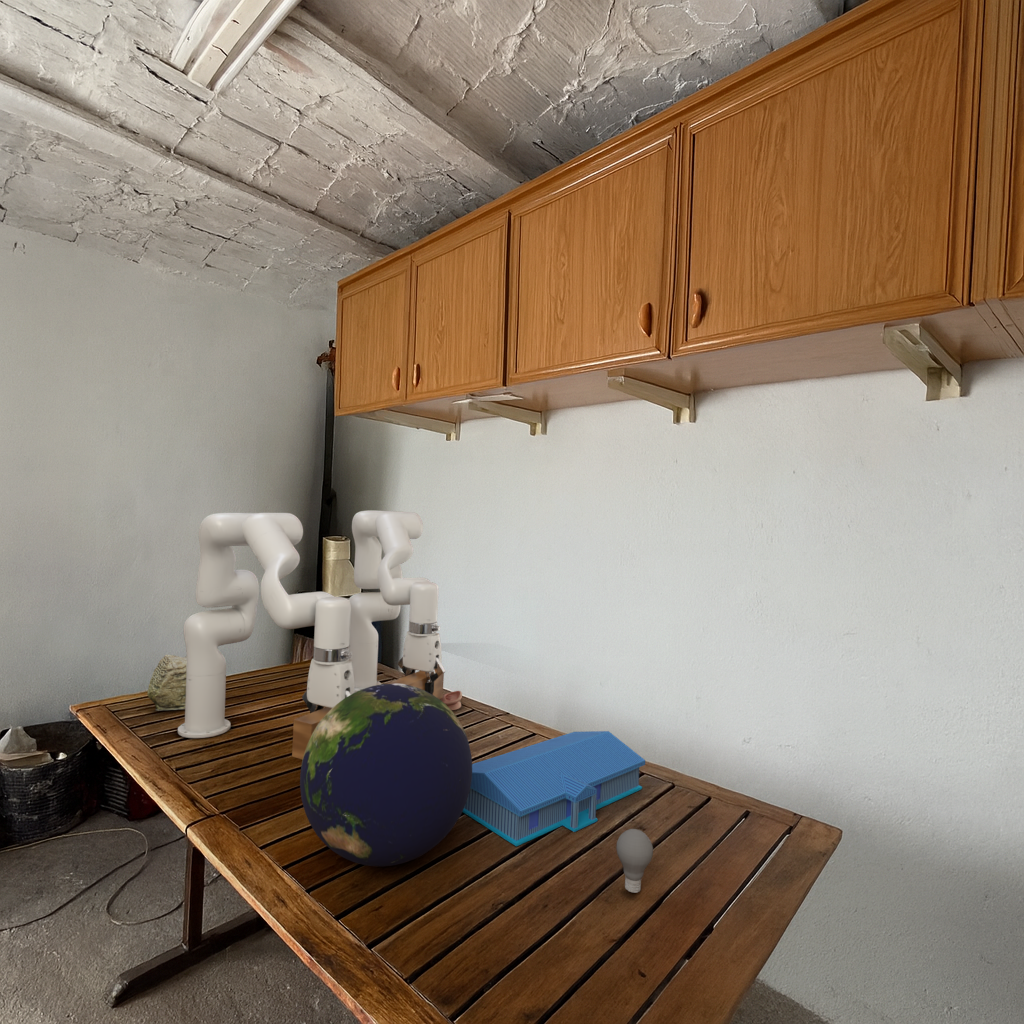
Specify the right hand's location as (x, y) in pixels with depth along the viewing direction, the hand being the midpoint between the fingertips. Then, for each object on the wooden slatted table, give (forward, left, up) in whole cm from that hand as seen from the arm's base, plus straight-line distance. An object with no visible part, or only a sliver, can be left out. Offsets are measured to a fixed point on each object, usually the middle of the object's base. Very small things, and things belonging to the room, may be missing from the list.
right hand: (419, 693), depth 172 cm
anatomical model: (-21, +7, -11) cm, 25 cm away
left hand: (+29, -21, 0) cm, 36 cm away
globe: (+58, -8, -11) cm, 60 cm away
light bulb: (+73, +33, -11) cm, 81 cm away
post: (+14, -11, -3) cm, 18 cm away
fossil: (-25, -67, -11) cm, 73 cm away
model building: (+40, +28, -11) cm, 50 cm away
